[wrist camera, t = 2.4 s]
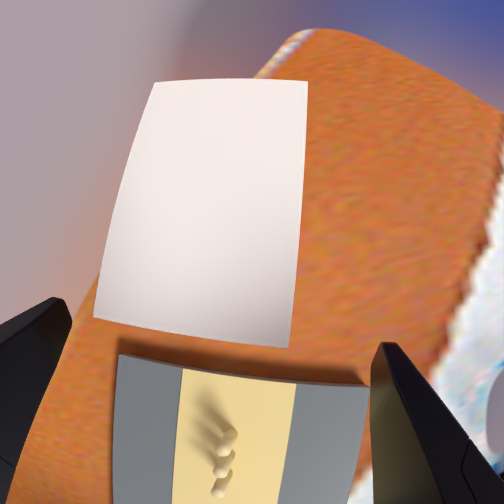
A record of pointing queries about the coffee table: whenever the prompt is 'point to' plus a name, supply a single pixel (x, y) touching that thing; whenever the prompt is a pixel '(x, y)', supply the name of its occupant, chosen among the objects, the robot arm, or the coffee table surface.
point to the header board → (232, 436)
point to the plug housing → (210, 212)
